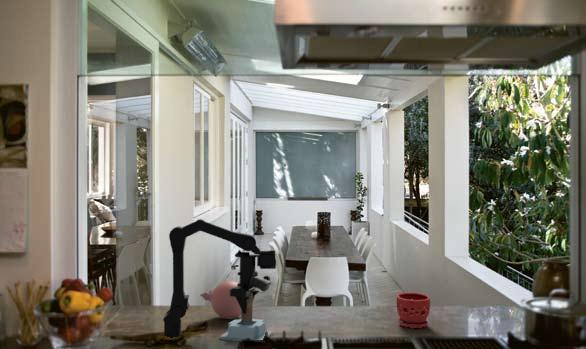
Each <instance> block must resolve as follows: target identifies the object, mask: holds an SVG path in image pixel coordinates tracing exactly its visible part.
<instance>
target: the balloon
mask: <svg viewBox="0 0 586 349" xmlns="http://www.w3.org/2000/svg"><path fill="white" fill-rule="evenodd" d="M238 283H239V282H237V281H234V280H227V281H223V282H221V283H219V284H218V285H217V286H216V287H214V288H213V289H211V290H209V291H208V292H207V291H205V292H203V293H201V294H199V295H200V297H202V298H203V299H204V301H209V302H210V305H211V308H212V310H213V311H214V313H215V314H216V315H217V316H218V317H220V318H222V319H225V320H227V319H228V320H231V319H236V318H238V317H240V316H241V308H240V305H239V303H238V301H237V299H236V297H232V296H230V290H231V289H232V288H234V287H237V285H238Z"/></svg>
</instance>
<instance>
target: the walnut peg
mask: <svg viewBox="0 0 586 349" xmlns="http://www.w3.org/2000/svg"><path fill="white" fill-rule="evenodd" d="M249 295H252V296H251V297H250V298H249V299H248V305H247V312H246V314H243V312H242V310H241V315H240V316H241V317H240V319H241V321H243V322H251V321H252V319H253V303H254V300H253V293H252V292H250V293H249Z"/></svg>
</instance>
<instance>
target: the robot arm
mask: <svg viewBox="0 0 586 349" xmlns="http://www.w3.org/2000/svg"><path fill="white" fill-rule="evenodd" d="M199 232H202V233H206V234H208V235H211V236H214V237H217V238H219V239H222V240H224V241H227V242H230V243H231V244H233V245H235V246H236V247H238V248H239V249H238V251H237V252H236V253H234V257H235V258H239V271H238V272H237V276H239V282H238V285H237V287H234V288H232V289H231V290H230V296H232V297H236V299H237V301H238V303H239V305H240V308H241V310H242V312H243V314H246V312H247V305H248V299H249V298H250V297H251V296H252V295H249V293H250V292H252V293H253V301H254V300H255V297H256V296H257V294H258V293H260V292H266V291H268V290H269V289H270V286H271V285H272V280H271V276H270V275H264V276H259V272H258V271H257V270H256V265H257V267H259V269H260V270H276V268H277V259H276V258H277V257H276V250H275V249H271V250H270V249H269V250H261V248H260V247H258V246H257V241H256V238H255V237H254V236H253V235H252V234H249V233H244V232H238V231H237V232H236V231H233V230H229V229H228V228H225V227H221V226H219V225H216V224H214V223H210V222H207V221H205V220H204V219H201V218H199V219H197V220H195V221H194V222H191V223H189V224H187V225H184V226H181V225H180V226H174V227H173V228H172V229H171V230H170V231H169V234H168V237H169V238H168V239H169V242H170V248H171V252H172V283H173V284H172V296H171V299H170V300H171V301H170V306H169V309H168V310H167V311H166V313H165V314H164V316H163V318H162V320H163V337H164V336H167V337H170V338H173V337H178V336H180V335H182V318H184V317H185V315H186V314H187V311H188V310H189V307H190V303H189V297H190V295H189V294H186V293H185V262H184V261H185V258H184V255H185V254H184V253H185V252H184V251H185V247H186V241H187V238H188V237H190V236H192V235H194V234H196V233H199ZM241 249H242V250H243V251H241ZM250 252H251V253H252V254H251V253H250ZM257 289H258V290H257ZM175 341H176V340H175ZM176 342H177V341H176Z"/></svg>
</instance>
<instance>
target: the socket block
mask: <svg viewBox="0 0 586 349" xmlns="http://www.w3.org/2000/svg"><path fill="white" fill-rule="evenodd" d="M227 327H228V330H227V331H226V332H224V333H222V334H221V335H219V340H223V341H233V342H235V341H236V342H242V341H241V340H242V339H246V338H250V339H252V340H263V338H264V336H265V332H266V331H267V332H268V336H269V335H270V334H272V333H273V334H274V332H273V330H271V331H269V330H266V322H265V319H257V318H252V321H251V322H243V321H241V318H239V319H234V320H232V321H230V322H228V326H227Z"/></svg>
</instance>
